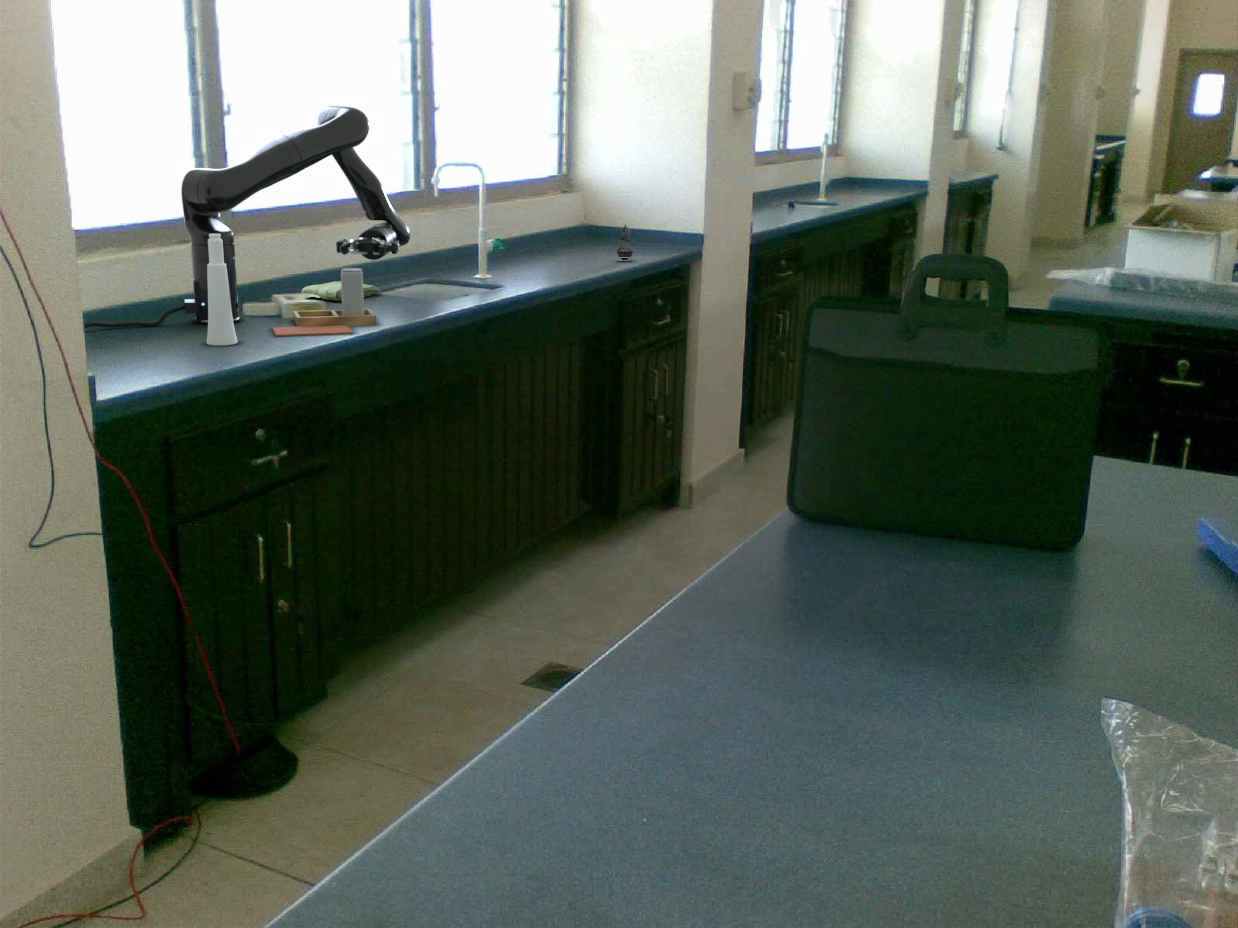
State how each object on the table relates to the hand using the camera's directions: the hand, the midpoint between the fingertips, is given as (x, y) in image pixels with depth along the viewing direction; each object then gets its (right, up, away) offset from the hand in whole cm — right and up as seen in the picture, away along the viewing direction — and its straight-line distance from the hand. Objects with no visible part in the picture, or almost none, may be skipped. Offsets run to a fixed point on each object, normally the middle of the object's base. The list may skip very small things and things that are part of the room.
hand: (362, 250), depth 279 cm
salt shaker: (+62, +17, +118) cm, 134 cm away
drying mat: (-7, -21, -19) cm, 29 cm away
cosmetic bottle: (-21, -25, -34) cm, 47 cm away
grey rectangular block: (0, -18, -6) cm, 19 cm away
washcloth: (-12, -7, +29) cm, 32 cm away
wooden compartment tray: (-4, -18, -8) cm, 20 cm away
